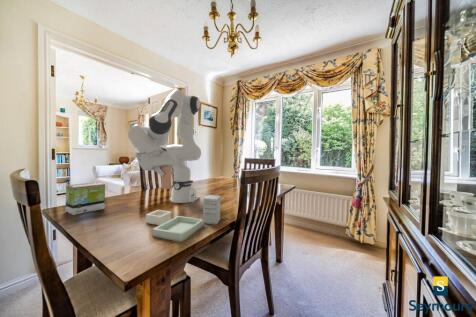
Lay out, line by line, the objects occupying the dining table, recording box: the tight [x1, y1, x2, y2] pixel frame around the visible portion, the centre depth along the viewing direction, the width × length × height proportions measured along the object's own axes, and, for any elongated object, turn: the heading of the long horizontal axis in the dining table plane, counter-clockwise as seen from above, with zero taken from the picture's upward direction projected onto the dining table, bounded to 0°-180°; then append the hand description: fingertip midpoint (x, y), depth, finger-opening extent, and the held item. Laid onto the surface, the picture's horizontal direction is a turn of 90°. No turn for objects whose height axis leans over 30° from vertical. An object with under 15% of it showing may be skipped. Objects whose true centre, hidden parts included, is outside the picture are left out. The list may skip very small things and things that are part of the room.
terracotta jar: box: [160, 167, 173, 190], centre depth 93 cm, size 4×4×10 cm
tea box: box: [64, 182, 106, 216], centre depth 111 cm, size 15×10×15 cm, turn 151°
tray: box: [152, 215, 205, 243], centre depth 88 cm, size 18×14×3 cm
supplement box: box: [202, 194, 222, 225], centre depth 101 cm, size 7×7×13 cm
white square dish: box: [145, 209, 172, 226], centre depth 99 cm, size 8×8×4 cm
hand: (167, 174), depth 93 cm, fingers closed on terracotta jar, 4 cm apart
